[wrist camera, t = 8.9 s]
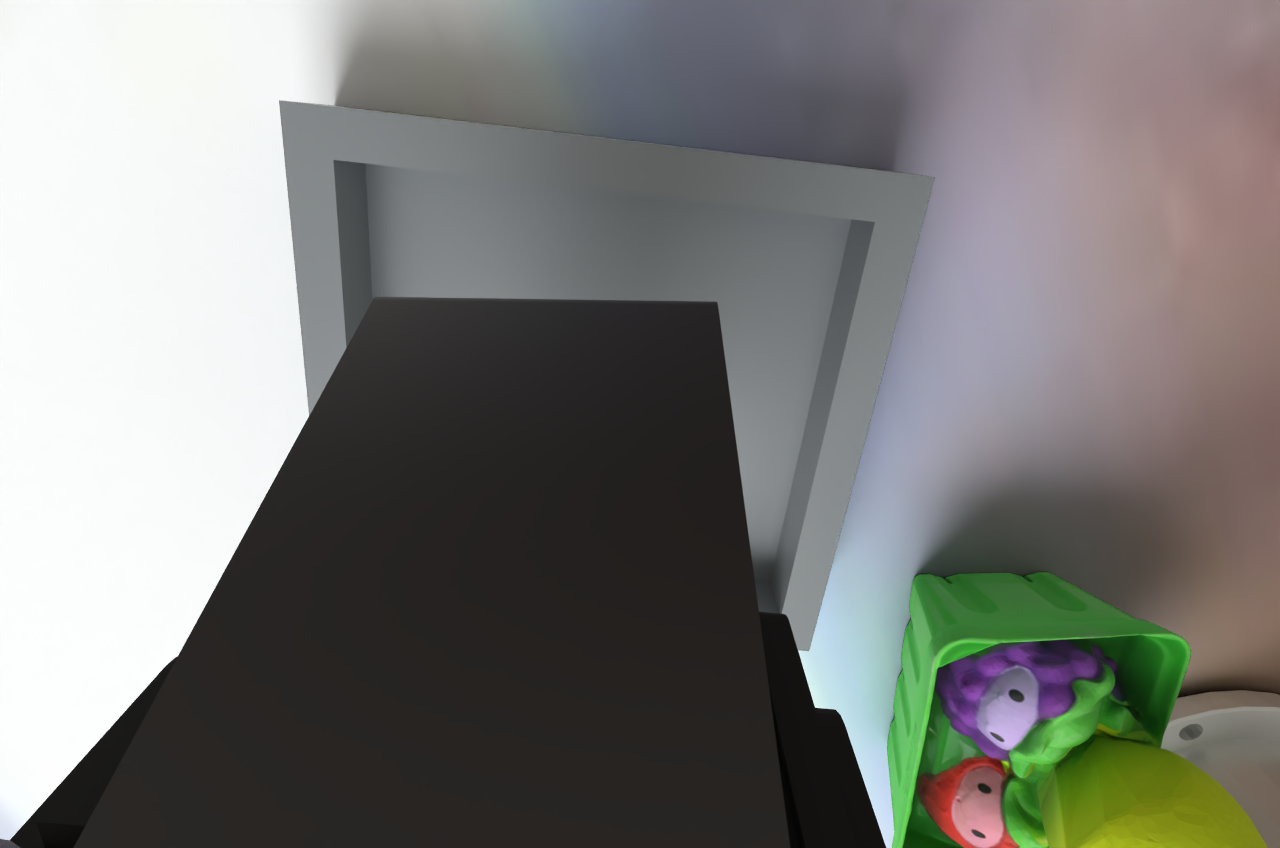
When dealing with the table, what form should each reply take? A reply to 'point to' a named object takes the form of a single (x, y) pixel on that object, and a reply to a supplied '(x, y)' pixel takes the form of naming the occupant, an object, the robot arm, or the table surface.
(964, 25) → the table surface
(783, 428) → the tray
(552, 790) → the phone stand
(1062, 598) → the fruit basket
